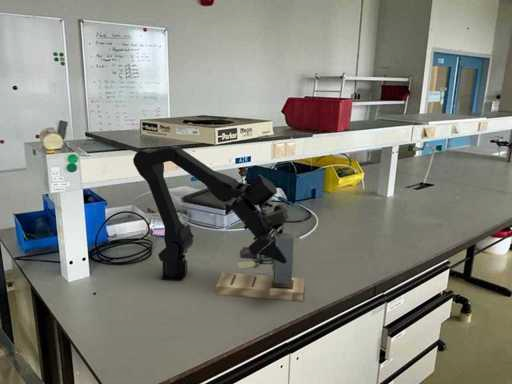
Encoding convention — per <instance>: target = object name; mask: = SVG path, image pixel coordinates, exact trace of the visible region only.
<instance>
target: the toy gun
mask: <svg viewBox="0 0 512 384" xmlns="http://www.w3.org/2000/svg"><path fill="white" fill-rule="evenodd" d="M239 251H240V252H239V253H240V258H242V259H244V258H245V259H251V258H252V260H251V261H244V262H243V261H241V262H240V261H239V262H237V268H238V269H240V268H241V269H242V268H243V269H245V268H247V269H248V268H254V267H257V266H260V265H262V264H263V263H270V262H274V259H272V258H269V257H267V256H264V255H261V254H260V255H259V254H258V253H257V254H256V255H255V256H253V255H252V254H251V253H250V252H249V246H243V247H242V248H241V249H240V250H239ZM253 258H255V259H253ZM258 262H259V263H258ZM273 265H274V263H272V266H271V268H272V270H273Z"/></svg>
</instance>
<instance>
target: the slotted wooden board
mask: <svg viewBox="0 0 512 384" xmlns="http://www.w3.org/2000/svg"><path fill="white" fill-rule="evenodd" d="M304 290H305V278H301V277H292V282H291V283H279V284H276V283H275V279H274V278H273V275H263V274H262V275H261V274H246V273H238V272H237V273H234V272H222V273H221V274H220V278H219V279H218V282H217V283H216V286H215V295H218V296H220V295H221V296H234V297H244V298H256V299H257V298H259V299H270V300H279V301H281V300H283V301H293V302H294V301H295V302H297V301H298V302H304Z"/></svg>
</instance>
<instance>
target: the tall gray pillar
mask: <svg viewBox="0 0 512 384" xmlns="http://www.w3.org/2000/svg"><path fill="white" fill-rule="evenodd" d="M275 238H276V245H277V247H278V248H279V250H280V251H281V253H282V254H283V256H284V257H285V259H286V260H287V262H286V263H285V264H283V263H281V262H279V261H276V260H273V264H274V265H273V264H272V266H273V269H272V270H273V273H272V276H273V278H274V279H275V283H276V284H279V283H291V282H292V278H293V260H294V259H293V258H294V241H295V240H294V239H295V238H294V237H293V235H292V234H291V232H288V233H286V232H283V233H275Z"/></svg>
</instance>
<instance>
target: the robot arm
mask: <svg viewBox="0 0 512 384" xmlns="http://www.w3.org/2000/svg"><path fill="white" fill-rule="evenodd" d="M132 161H133V166H134V167H135V168H136V169H135V170H137V172H138V174H139V175H140V176H141V177H142V178H143V179H144V180H145V181H146V182H147V184H148V187H149V189H150V192H151V195H152V198H153V200H154V202H155V205H156V207H157V208H156V209H157V211H158V213H159V215H160V216H159V217H160V218H161V221H162V224H163V227H164V235H163V239H164V245H165V247H164V248H163V249H162V250H161V251H160V252H159V253H158V255H157V256H158V258H159V260H160V262H161V263H162V275H161V277H160V279H161V280H166V281H167V280H168V281H169V280H170V281H183V279H184V278H185V276H187V274H188V272H189V271H188V260H187V259H186V255H185V254H187V253H188V250H189V249H191V248H192V245H193V244H194V238H195V236H194V234H193V233H192V230H191V226H190V225H189V224H187V225H185V224H183V222H182V221H181V219H180V218H179V215H178V212H177V209H176V207H175V204H174V201H173V198H172V196H171V192H170V190H169V187H168V185H167V183H166V180H165V177H164V175H165V174H164V173H165V164H164V163H167V162H171V163H173V164H174V165H176V166H177V167H179V168H180V169H182V170H184V172H186V173H187V174H189V175H191V176H192V177H194V178H195V179H196V180H198V181H199V182H201V183H203V185H204V186H206V188H207V189H208V192H209V193H210V194H211V195H212V196H214V197H215V199H217V200H218V201H219V202H220V203H226V204H225V207H224V208H225V210H224V214H225V215H228V214H230V213H231V212H233V213H234V215H236V217H237V218H238V220H240V221H241V223H242V224H243V225H244V226H243V230H245V231H246V230H248V231H249V232H251V234H252V235H253V240H252V242H251V244H249V246H248V247H249V252H250V253H251V254H252V255H253V256H255V255H256V254H257V253H258V254H259V255H260V254H261V255H264V256H267V257H269V258H272V259H274V260H276V261H279V262H281V263H283V264H285V263H286V262H287V260H286V259H285V257H284V256H283V254H282V253H281V251H280V250H279V248H278V247H277V245H276V238H275V233H284V230H285V226H284V225H285V223H287V220H289V216H288V209H286V208H285V206H282V205H281V204H276V205H274V207H273V210H271V211H270V212H268V213H267V212H266V211H265V210H263V209H262V210H261V211H260V209H259V208H258V207H257V206H259V207H262V206H264V205H265V204H266V203H267V202H268V201H270V200H271V199H272V198H273V197H274V196H275V195H277V194H278V189H277V187H276V186H275V184H274V183H273V182H272V181H271V180H269V179H268V178H266V177H264V176H263V175H262V174H258V176H256V177H255V178H254V180H253V181H252V182H251V183H249V184H248V183H243V182H240V181H238V180H237V179H236V178H234V177H233V176H230V175H228V174H224V173H221V172H217V171H216V170H213V169H212V168H211V167H209V166H207V164H205V163H204V162H202V161H200V160H199V159H197V158H196V157H194V156H193V155H191V154H190V153H188V152H187V151H186V150H184V149H183V148H182V147H181V146H179V145H172V146H169V147H166V148H163V149H157V148H155V149H150V148H146V149H143V150H140V151H137V152H136V153H135V154H134V157H133V159H132ZM244 194H245V196H243V195H244ZM241 196H243V197H241ZM233 199H234V200H233ZM232 200H233V201H232ZM230 201H232V202H230ZM267 257H266V258H267ZM274 260H273V261H274Z"/></svg>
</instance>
